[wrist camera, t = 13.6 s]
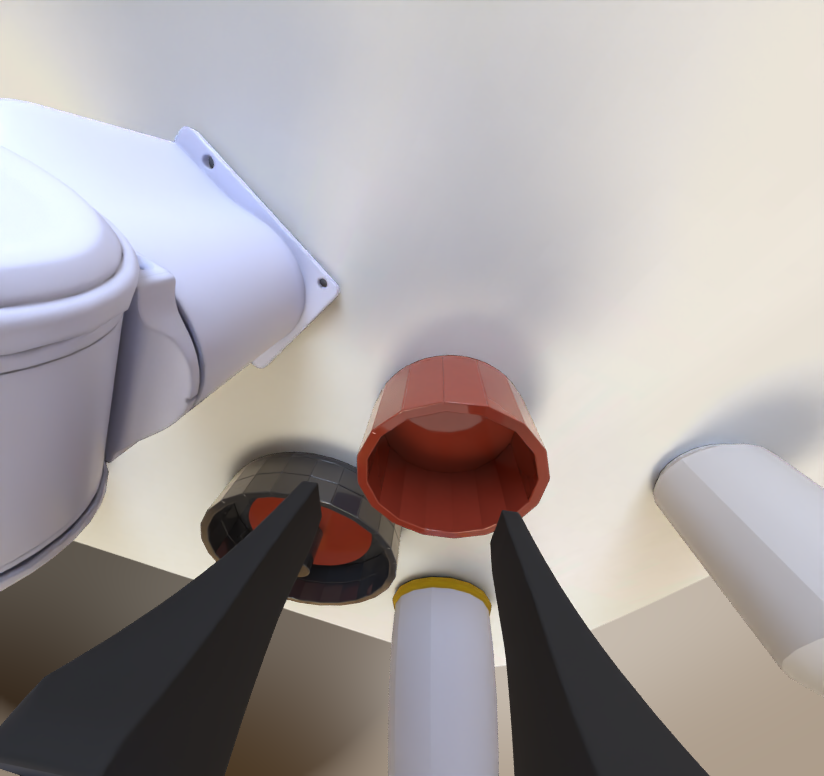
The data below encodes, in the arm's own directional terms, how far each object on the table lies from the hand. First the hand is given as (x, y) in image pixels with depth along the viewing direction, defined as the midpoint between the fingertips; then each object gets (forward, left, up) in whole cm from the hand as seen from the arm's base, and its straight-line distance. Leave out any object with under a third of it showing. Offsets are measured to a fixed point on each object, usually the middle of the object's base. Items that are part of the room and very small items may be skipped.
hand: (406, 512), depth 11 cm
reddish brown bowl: (+3, 0, -9) cm, 10 cm away
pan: (+5, -17, -9) cm, 20 cm away
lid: (+5, -17, -8) cm, 19 cm away
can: (+18, +12, -10) cm, 24 cm away
